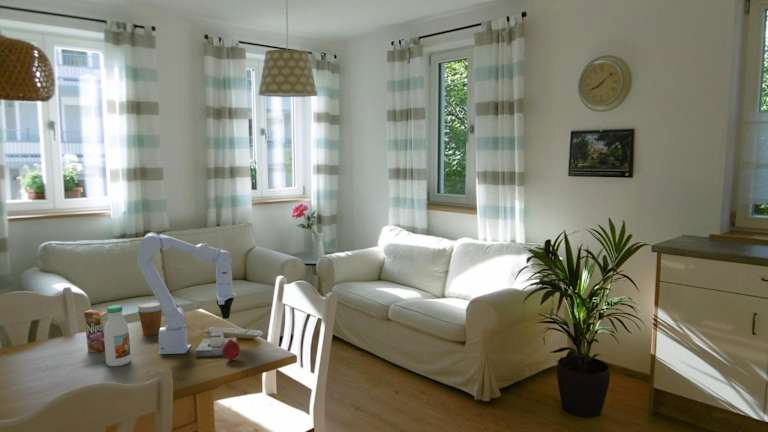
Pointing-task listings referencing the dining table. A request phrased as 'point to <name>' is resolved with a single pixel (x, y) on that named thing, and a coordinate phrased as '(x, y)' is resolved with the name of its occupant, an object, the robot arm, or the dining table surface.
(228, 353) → the onion
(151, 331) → the disposable coffee cup
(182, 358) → the dining table surface
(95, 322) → the candy box
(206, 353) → the socket plate
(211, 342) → the plug
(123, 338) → the milk bottle
